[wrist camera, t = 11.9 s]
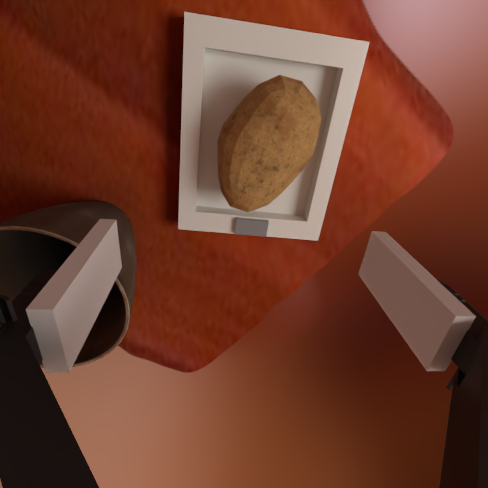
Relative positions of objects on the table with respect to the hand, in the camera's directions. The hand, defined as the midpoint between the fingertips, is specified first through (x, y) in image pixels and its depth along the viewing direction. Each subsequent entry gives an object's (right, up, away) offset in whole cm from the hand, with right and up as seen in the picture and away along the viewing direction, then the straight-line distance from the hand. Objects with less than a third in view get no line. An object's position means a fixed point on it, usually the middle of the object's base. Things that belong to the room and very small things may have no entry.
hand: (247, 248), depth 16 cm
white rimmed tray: (+2, +12, +21) cm, 24 cm away
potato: (+2, +12, +20) cm, 24 cm away
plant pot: (-19, +2, +24) cm, 31 cm away
